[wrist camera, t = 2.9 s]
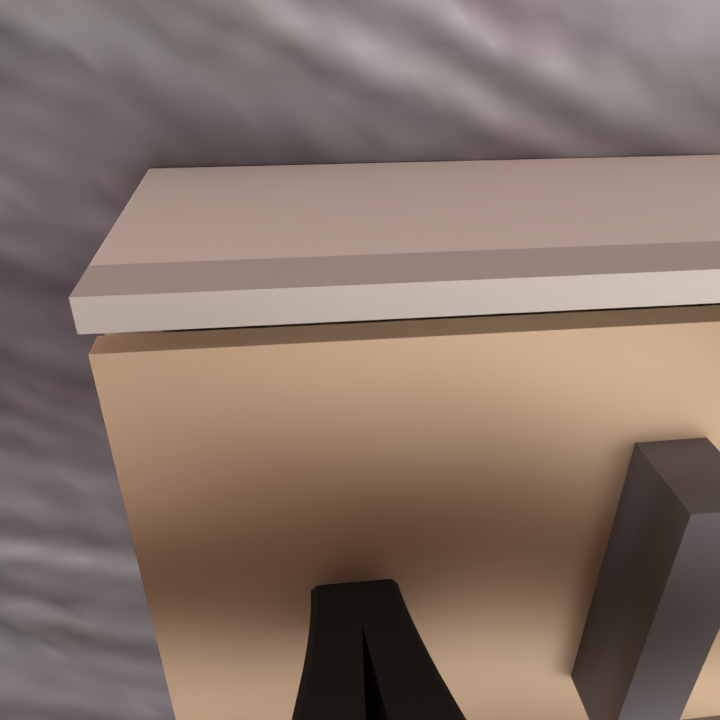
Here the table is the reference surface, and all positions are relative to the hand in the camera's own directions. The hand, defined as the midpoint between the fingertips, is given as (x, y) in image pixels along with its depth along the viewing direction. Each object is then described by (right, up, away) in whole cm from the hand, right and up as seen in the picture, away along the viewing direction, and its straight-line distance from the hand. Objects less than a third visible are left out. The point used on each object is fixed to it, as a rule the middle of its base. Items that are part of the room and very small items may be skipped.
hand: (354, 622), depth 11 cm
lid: (+3, +1, +1) cm, 4 cm away
